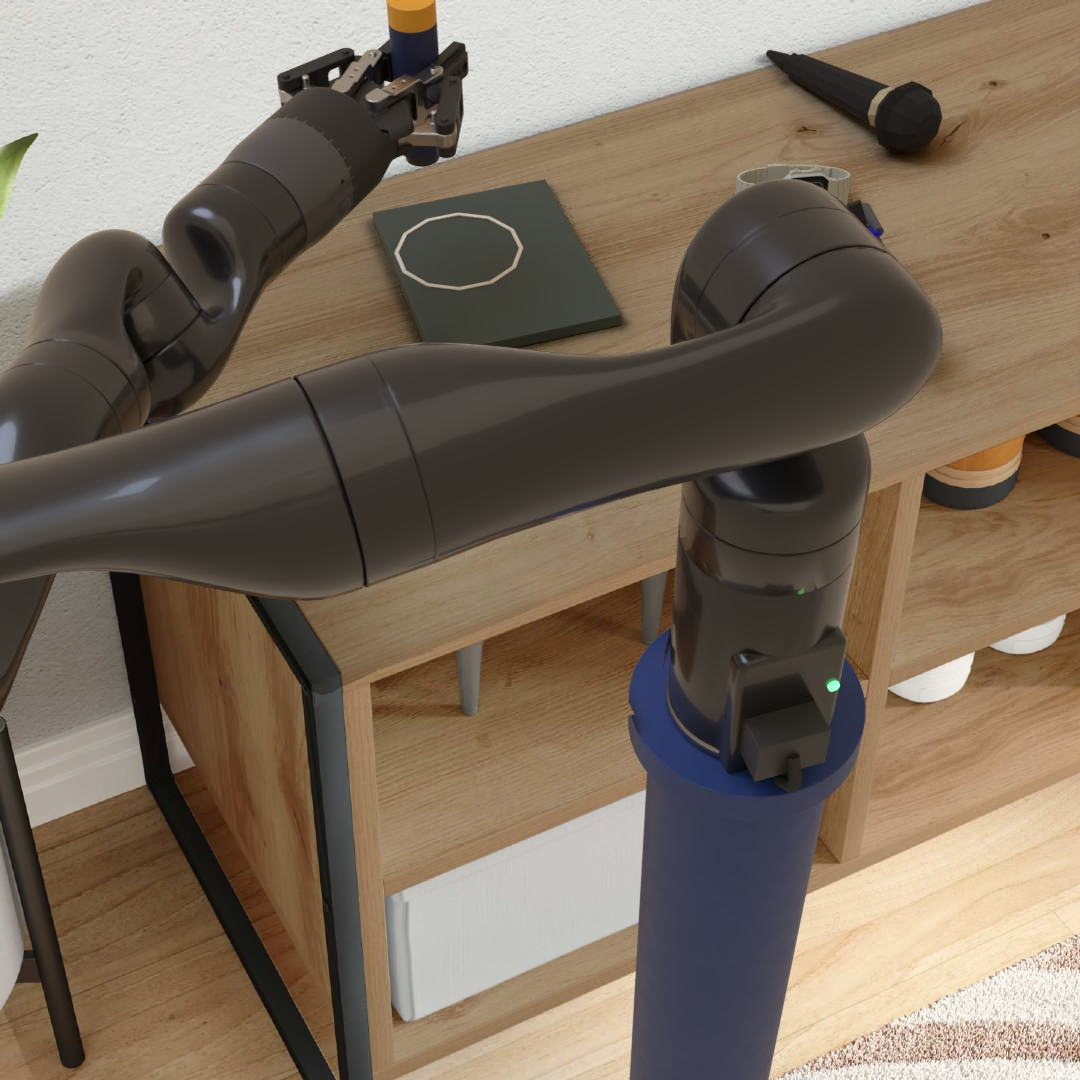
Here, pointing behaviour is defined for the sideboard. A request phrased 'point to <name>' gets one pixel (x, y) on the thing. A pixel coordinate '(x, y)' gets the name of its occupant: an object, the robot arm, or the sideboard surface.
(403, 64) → the marker
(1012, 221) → the sideboard surface
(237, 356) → the sideboard surface
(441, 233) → the slate
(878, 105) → the microphone
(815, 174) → the wristwatch
